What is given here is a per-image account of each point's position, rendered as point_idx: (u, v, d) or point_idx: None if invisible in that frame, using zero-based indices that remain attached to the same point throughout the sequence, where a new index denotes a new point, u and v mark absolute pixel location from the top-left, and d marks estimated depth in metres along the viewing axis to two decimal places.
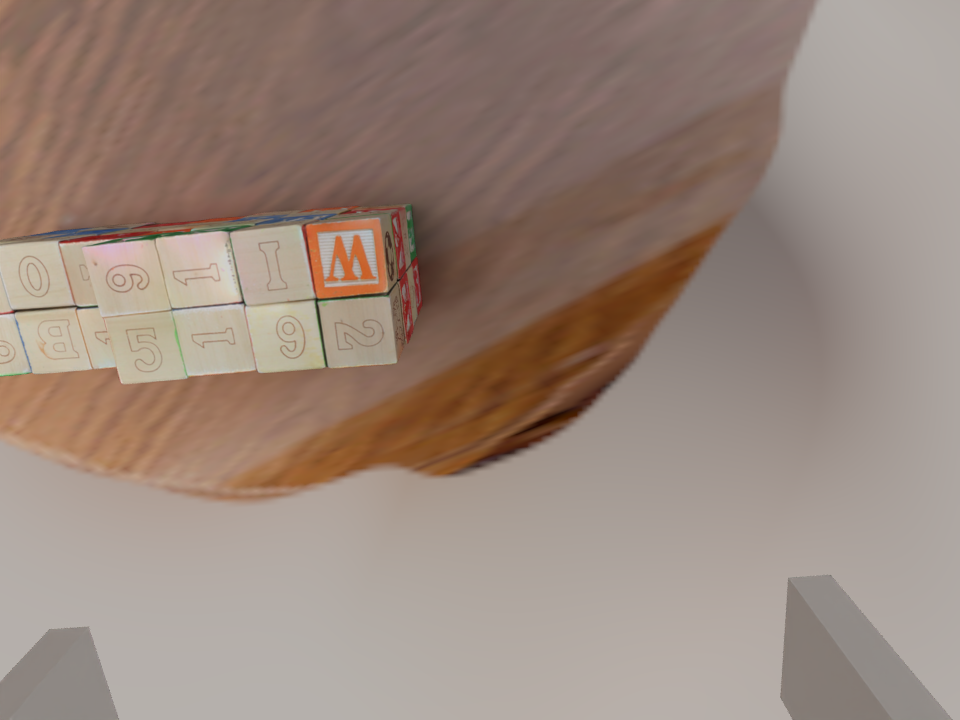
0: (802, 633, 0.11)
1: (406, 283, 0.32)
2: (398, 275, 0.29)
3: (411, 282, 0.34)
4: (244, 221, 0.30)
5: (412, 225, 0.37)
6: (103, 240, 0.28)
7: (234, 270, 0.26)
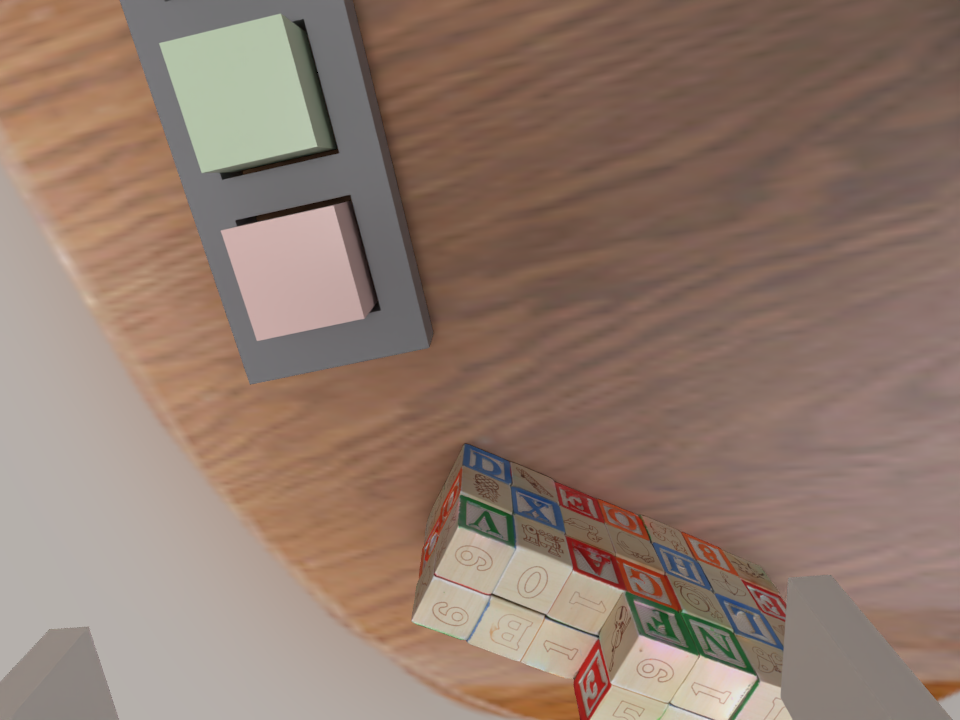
0: (802, 633, 0.11)
1: None
2: None
3: None
4: (700, 595, 0.34)
5: None
6: (610, 586, 0.31)
7: (739, 702, 0.29)
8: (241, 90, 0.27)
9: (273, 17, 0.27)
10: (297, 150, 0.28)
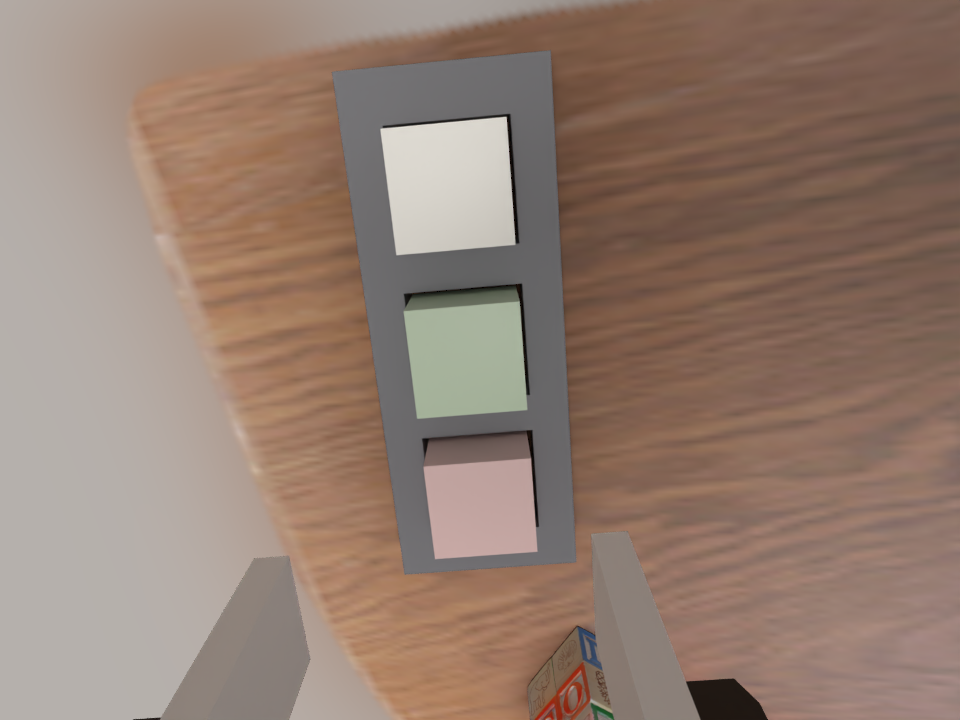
0: (597, 579, 0.13)
1: None
2: None
3: None
4: None
5: None
6: None
7: None
8: (469, 357, 0.30)
9: (512, 303, 0.29)
10: (508, 410, 0.31)
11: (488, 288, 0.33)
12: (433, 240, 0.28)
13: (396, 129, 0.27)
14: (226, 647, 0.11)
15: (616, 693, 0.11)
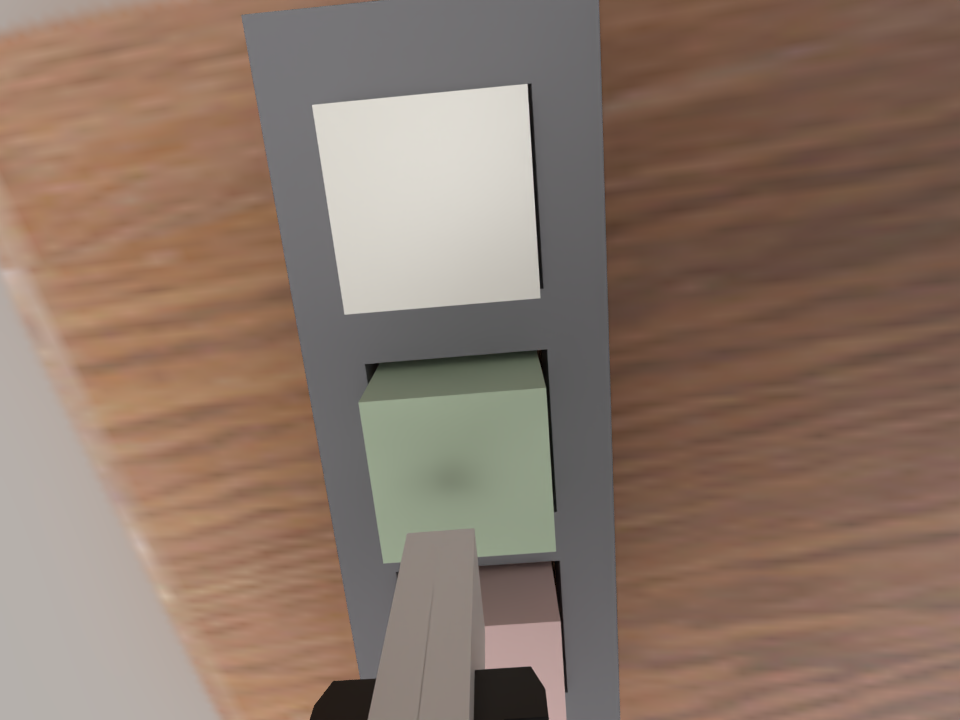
0: None
1: None
2: None
3: None
4: None
5: None
6: None
7: None
8: (464, 473, 0.19)
9: (534, 391, 0.18)
10: (525, 551, 0.20)
11: None
12: (405, 292, 0.17)
13: (339, 106, 0.16)
14: (414, 613, 0.11)
15: None
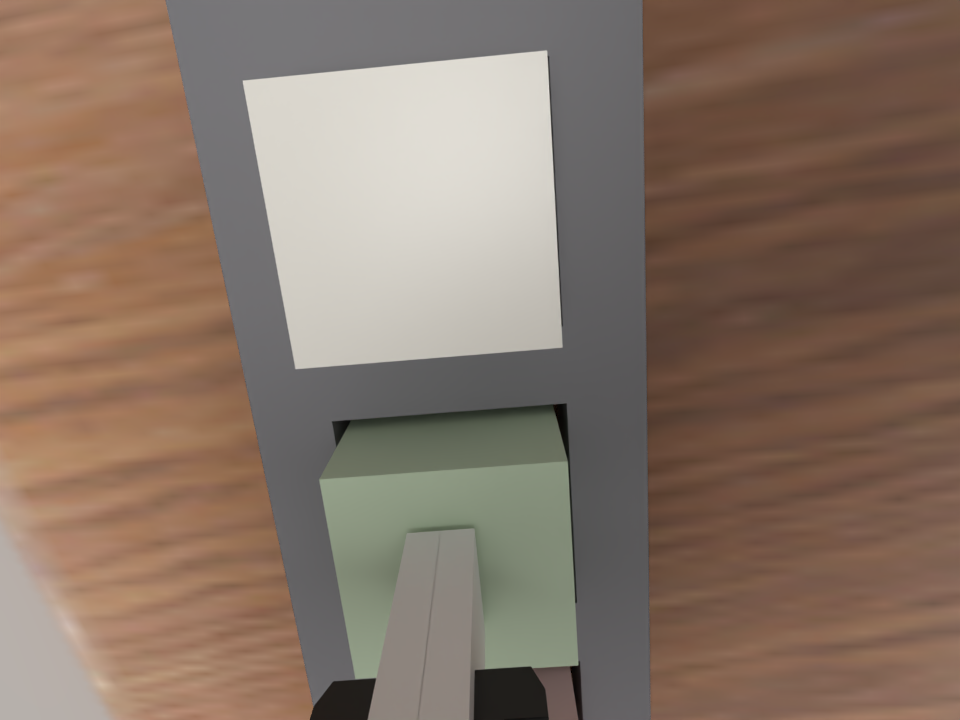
0: None
1: None
2: None
3: None
4: None
5: None
6: None
7: None
8: None
9: (551, 465, 0.14)
10: (539, 664, 0.15)
11: None
12: (378, 338, 0.13)
13: (281, 82, 0.11)
14: (414, 613, 0.11)
15: None
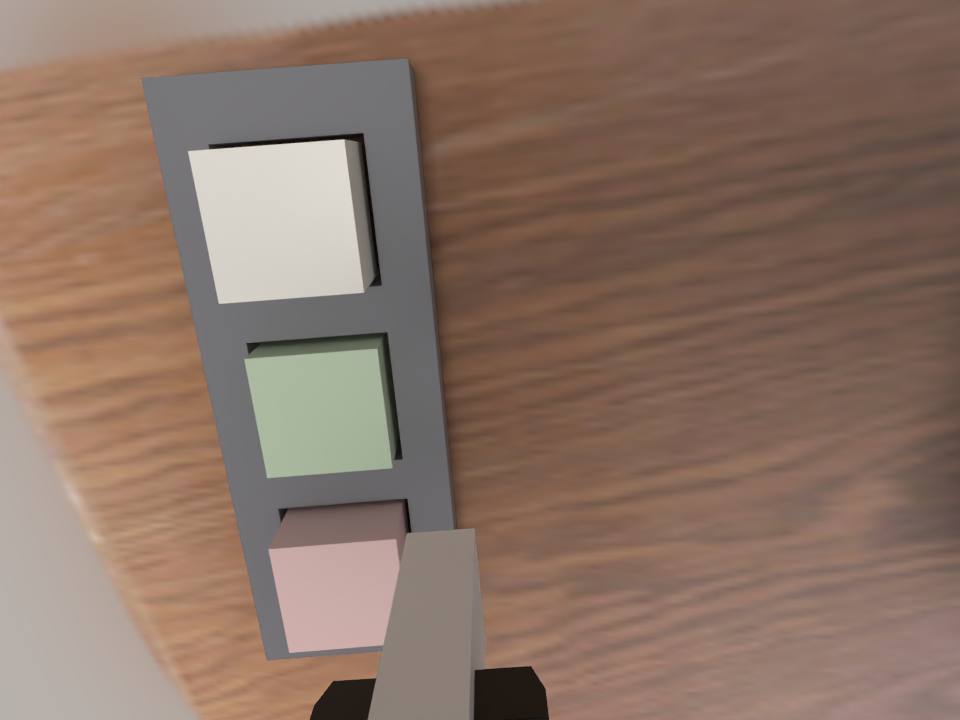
0: None
1: None
2: None
3: None
4: None
5: None
6: None
7: None
8: (323, 411, 0.26)
9: (368, 351, 0.26)
10: (371, 468, 0.27)
11: None
12: (263, 287, 0.23)
13: (208, 152, 0.22)
14: (413, 613, 0.11)
15: None
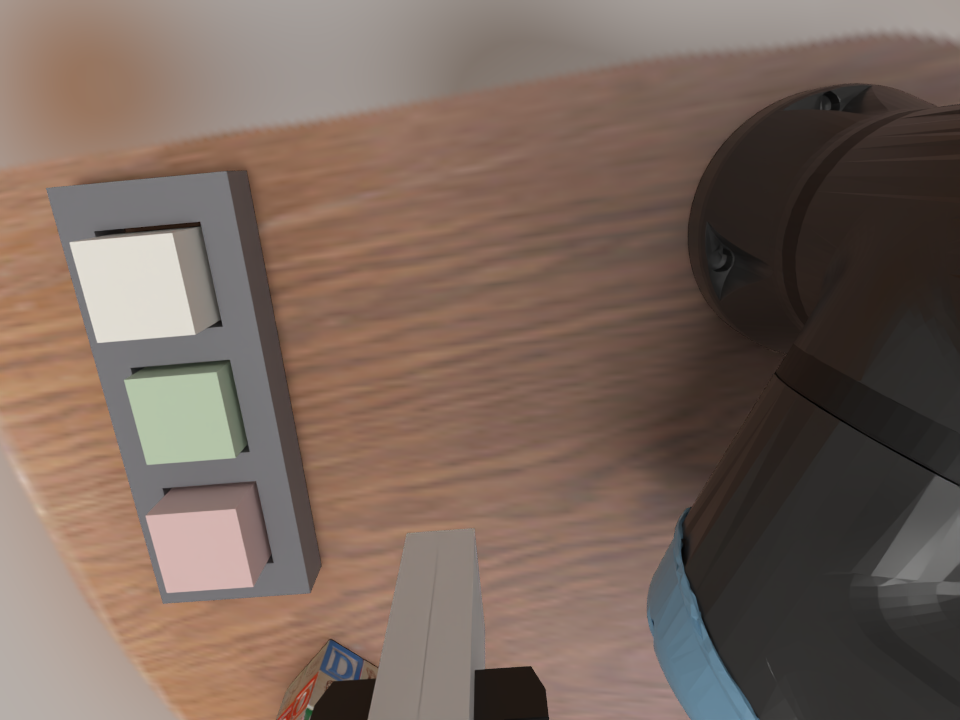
0: None
1: None
2: None
3: None
4: None
5: None
6: None
7: None
8: (182, 416, 0.37)
9: (210, 374, 0.36)
10: (220, 458, 0.38)
11: None
12: (126, 331, 0.34)
13: (82, 242, 0.33)
14: (414, 613, 0.11)
15: None
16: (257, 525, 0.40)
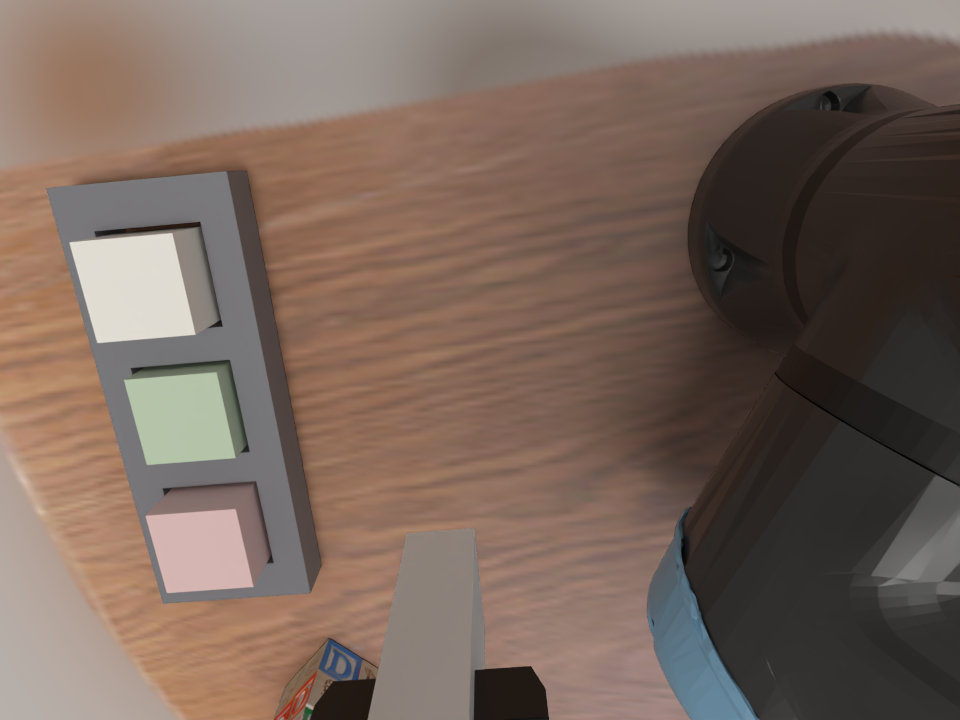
0: None
1: None
2: None
3: None
4: None
5: None
6: None
7: None
8: (182, 416, 0.37)
9: (210, 374, 0.36)
10: (220, 458, 0.38)
11: None
12: (126, 331, 0.34)
13: (83, 242, 0.33)
14: (414, 613, 0.11)
15: None
16: (257, 525, 0.40)
